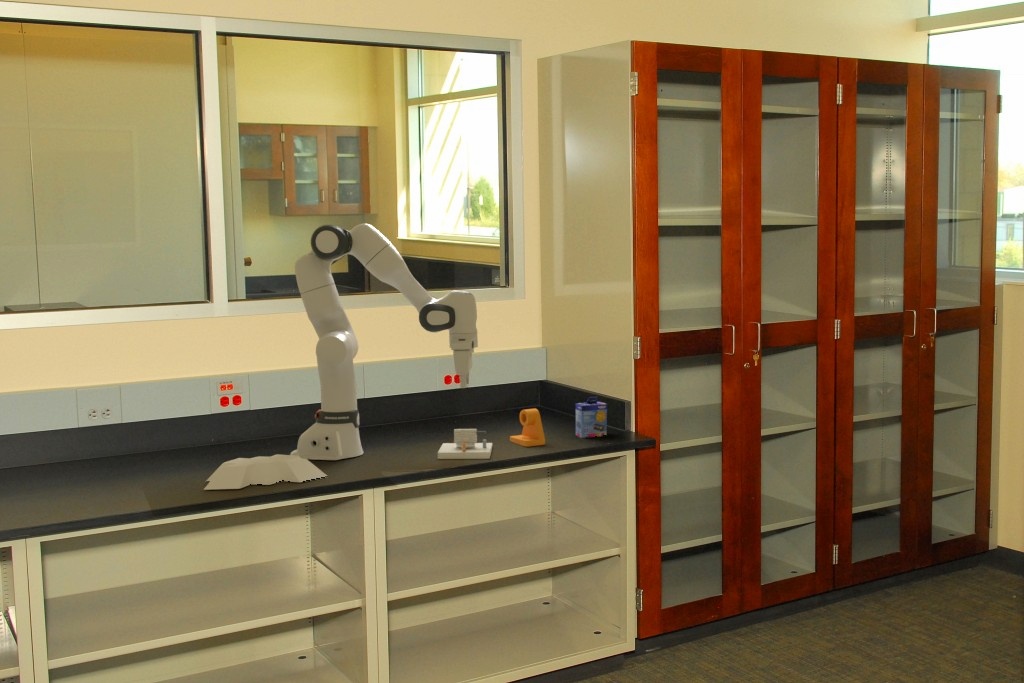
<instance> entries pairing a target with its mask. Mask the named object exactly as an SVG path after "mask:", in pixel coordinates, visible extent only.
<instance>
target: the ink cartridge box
mask: <svg viewBox="0 0 1024 683" xmlns="http://www.w3.org/2000/svg"><path fill="white" fill-rule="evenodd" d="M598 398H599V396H591V397H588V399H587V401H586V402H578V403H577V402H576V403H575V436H577V437H578V438H581V439H583V438H584V439H586V437H587V438H596V437H595V436H597V437H604V436H603V435H606V436H608V435H607V433H608V432H607V430H608V428H607V425H608V421H607V420H608V419H607V418H608V403H606V402H602V401H598ZM593 399H594V400H593Z"/></svg>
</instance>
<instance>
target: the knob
mask: <svg viewBox="0 0 1024 683" xmlns="http://www.w3.org/2000/svg"><path fill="white" fill-rule="evenodd" d="M486 434H487V431H486V430H478V429H477V428H454V429H453V443H456V447H457V448H462V443H466V448H474V447H475V443H478V442H477V441H478V435H486Z"/></svg>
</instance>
